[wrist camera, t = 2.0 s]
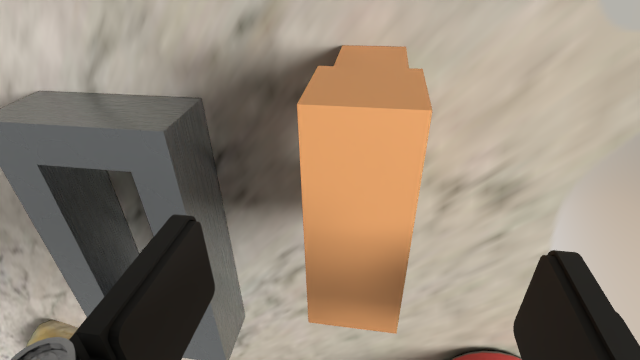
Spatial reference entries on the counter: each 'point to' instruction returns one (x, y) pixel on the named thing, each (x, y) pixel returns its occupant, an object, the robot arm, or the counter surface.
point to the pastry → (52, 331)
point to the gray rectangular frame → (100, 199)
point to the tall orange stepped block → (361, 183)
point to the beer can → (486, 356)
